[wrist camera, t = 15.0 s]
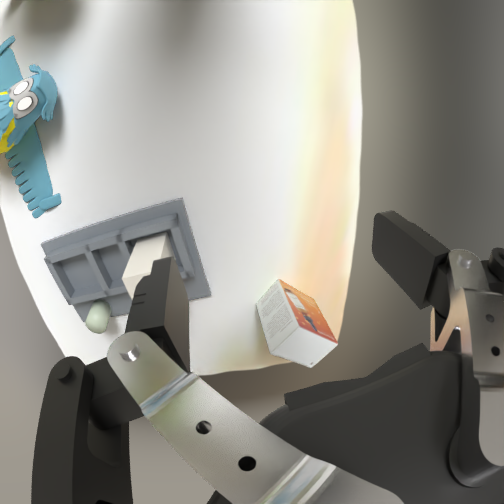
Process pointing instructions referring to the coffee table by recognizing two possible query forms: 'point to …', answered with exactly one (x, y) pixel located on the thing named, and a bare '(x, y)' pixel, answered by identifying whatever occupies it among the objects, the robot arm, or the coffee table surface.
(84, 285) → the grey compartment tray
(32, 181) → the blue yellow plastic figure
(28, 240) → the coffee table surface
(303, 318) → the small box
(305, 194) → the coffee table surface
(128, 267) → the plug
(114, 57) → the coffee table surface
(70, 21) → the coffee table surface
